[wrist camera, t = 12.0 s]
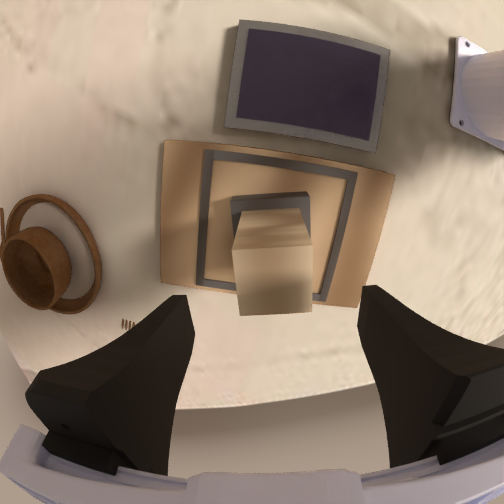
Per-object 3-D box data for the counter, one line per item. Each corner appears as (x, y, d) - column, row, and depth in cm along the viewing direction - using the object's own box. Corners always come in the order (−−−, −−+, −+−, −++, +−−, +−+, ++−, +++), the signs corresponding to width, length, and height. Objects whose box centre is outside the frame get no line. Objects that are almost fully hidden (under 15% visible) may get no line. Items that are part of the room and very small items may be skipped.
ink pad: (384, 52, 16) (390, 49, 14) (370, 151, 19) (376, 153, 18) (240, 24, 15) (239, 18, 14) (226, 126, 19) (223, 126, 18)
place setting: (142, 209, 22) (107, 237, 16) (138, 378, 30) (121, 418, 25) (-2, 180, 21) (-42, 197, 16) (22, 332, 29) (-2, 359, 24)
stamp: (306, 191, 20) (328, 229, 13) (308, 258, 22) (325, 321, 15) (232, 195, 20) (214, 236, 13) (239, 262, 22) (227, 326, 15)
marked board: (392, 174, 19) (396, 176, 19) (355, 303, 24) (357, 309, 23) (167, 139, 19) (163, 140, 18) (163, 278, 24) (160, 283, 23)
